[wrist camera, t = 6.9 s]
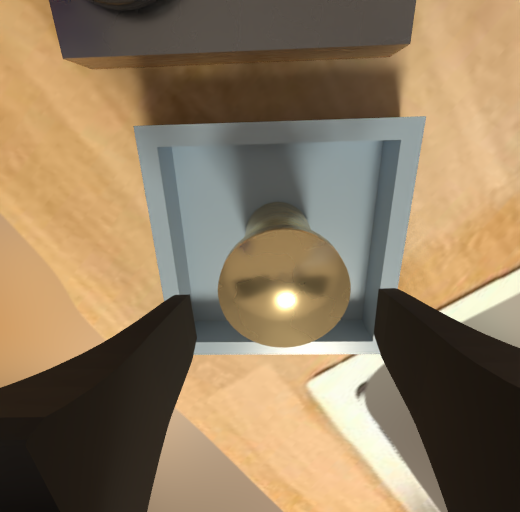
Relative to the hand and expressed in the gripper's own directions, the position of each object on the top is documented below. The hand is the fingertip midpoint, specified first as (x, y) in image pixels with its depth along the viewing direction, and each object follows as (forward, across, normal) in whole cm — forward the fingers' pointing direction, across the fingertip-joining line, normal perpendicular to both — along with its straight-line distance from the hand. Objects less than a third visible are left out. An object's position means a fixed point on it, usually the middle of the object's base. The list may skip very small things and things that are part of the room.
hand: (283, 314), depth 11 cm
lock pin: (+8, 0, 0) cm, 8 cm away
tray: (+9, 0, 0) cm, 9 cm away
